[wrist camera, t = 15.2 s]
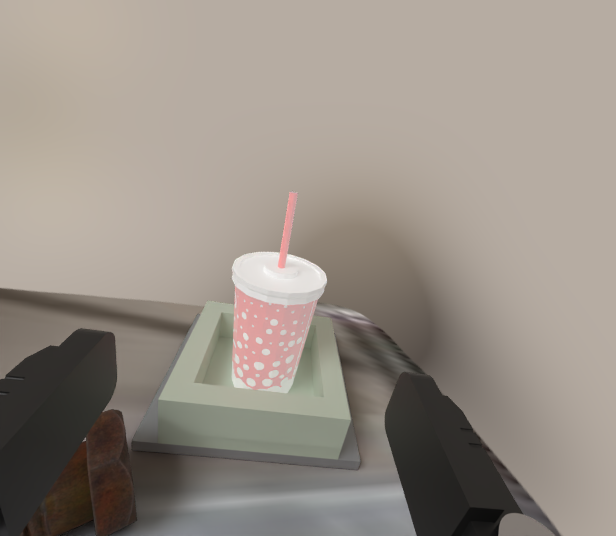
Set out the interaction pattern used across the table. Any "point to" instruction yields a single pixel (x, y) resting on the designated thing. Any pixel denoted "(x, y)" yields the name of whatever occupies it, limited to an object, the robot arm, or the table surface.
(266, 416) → the pale green square tray
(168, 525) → the table surface
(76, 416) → the robot arm
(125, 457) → the bolt
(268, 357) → the beverage cup
